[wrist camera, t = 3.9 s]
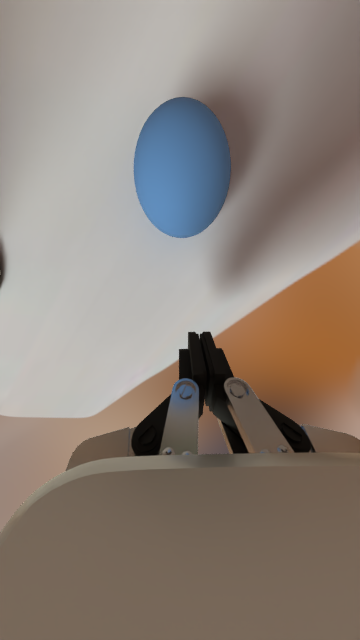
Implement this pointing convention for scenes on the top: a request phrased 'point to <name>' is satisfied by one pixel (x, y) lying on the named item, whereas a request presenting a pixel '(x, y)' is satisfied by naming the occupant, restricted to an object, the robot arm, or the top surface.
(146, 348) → the top surface
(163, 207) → the ball
